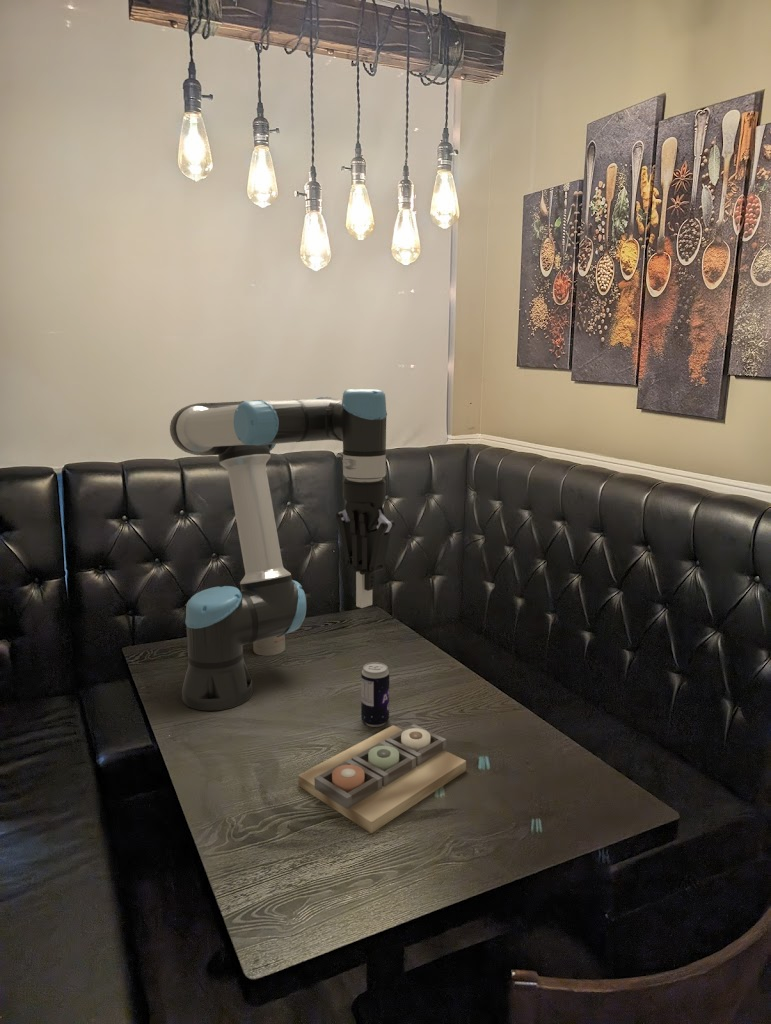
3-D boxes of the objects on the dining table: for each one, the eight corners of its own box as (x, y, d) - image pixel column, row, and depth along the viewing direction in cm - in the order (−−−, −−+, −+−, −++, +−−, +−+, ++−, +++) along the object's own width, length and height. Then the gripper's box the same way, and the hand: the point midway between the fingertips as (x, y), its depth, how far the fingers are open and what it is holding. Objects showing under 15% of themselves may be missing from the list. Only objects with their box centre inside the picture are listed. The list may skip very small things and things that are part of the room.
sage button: (362, 766, 123) (361, 752, 123) (383, 754, 127) (383, 741, 127) (383, 778, 120) (384, 765, 119) (405, 766, 123) (405, 752, 123)
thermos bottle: (291, 649, 178) (288, 543, 172) (264, 658, 173) (261, 549, 167) (273, 640, 184) (270, 537, 178) (247, 648, 179) (243, 542, 173)
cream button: (395, 747, 129) (395, 734, 129) (414, 736, 133) (414, 724, 133) (416, 759, 126) (417, 745, 125) (436, 747, 129) (436, 734, 129)
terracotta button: (325, 786, 117) (325, 772, 117) (349, 773, 121) (349, 759, 121) (347, 800, 114) (347, 786, 113) (371, 786, 117) (371, 772, 117)
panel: (295, 786, 121) (295, 765, 120) (394, 733, 139) (395, 714, 138) (369, 834, 109) (369, 812, 108) (467, 769, 127) (468, 749, 126)
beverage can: (386, 730, 140) (386, 674, 137) (358, 727, 141) (358, 671, 138) (391, 716, 145) (391, 662, 143) (364, 713, 146) (364, 660, 144)
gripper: (323, 476, 125) (325, 601, 130) (375, 485, 116) (375, 619, 121) (354, 471, 130) (354, 592, 135) (406, 480, 121) (404, 609, 126)
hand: (364, 605), depth 128 cm, fingers closed
